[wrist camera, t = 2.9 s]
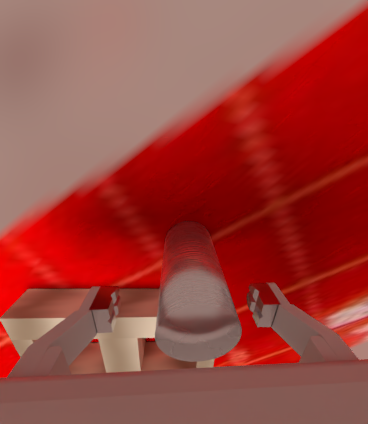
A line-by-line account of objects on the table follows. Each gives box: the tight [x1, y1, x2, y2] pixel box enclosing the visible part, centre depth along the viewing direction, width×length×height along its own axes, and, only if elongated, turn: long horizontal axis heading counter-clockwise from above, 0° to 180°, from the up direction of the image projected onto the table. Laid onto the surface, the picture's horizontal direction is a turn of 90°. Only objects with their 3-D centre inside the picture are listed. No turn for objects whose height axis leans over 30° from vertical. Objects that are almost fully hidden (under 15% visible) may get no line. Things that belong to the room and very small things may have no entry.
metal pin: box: [155, 221, 242, 362], centre depth 12 cm, size 4×4×8 cm
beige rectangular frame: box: [0, 289, 214, 374], centre depth 18 cm, size 18×11×3 cm, turn 88°
